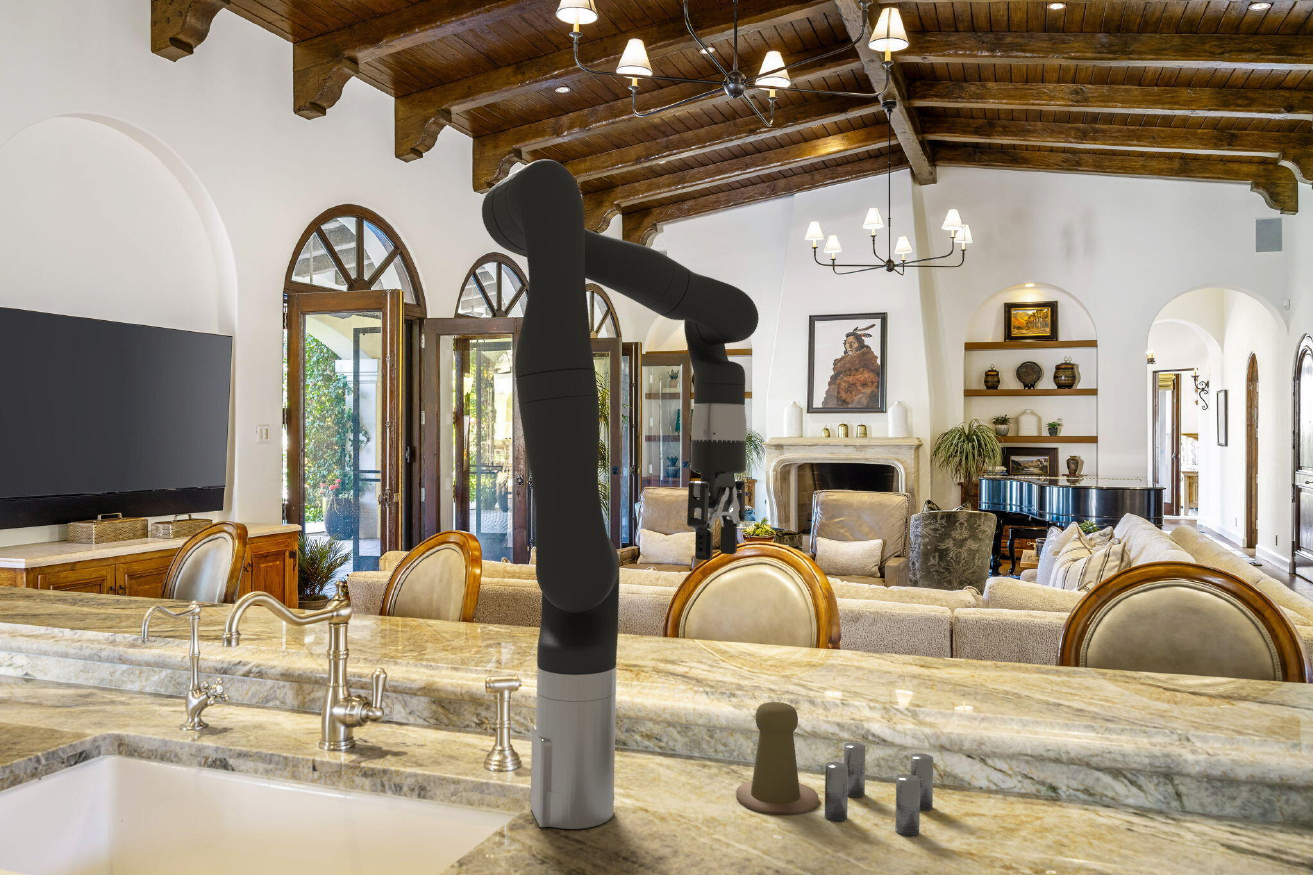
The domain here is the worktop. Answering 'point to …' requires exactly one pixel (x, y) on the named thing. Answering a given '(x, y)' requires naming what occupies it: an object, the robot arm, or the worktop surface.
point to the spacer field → (850, 782)
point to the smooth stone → (800, 806)
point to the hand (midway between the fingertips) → (716, 556)
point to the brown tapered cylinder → (776, 755)
